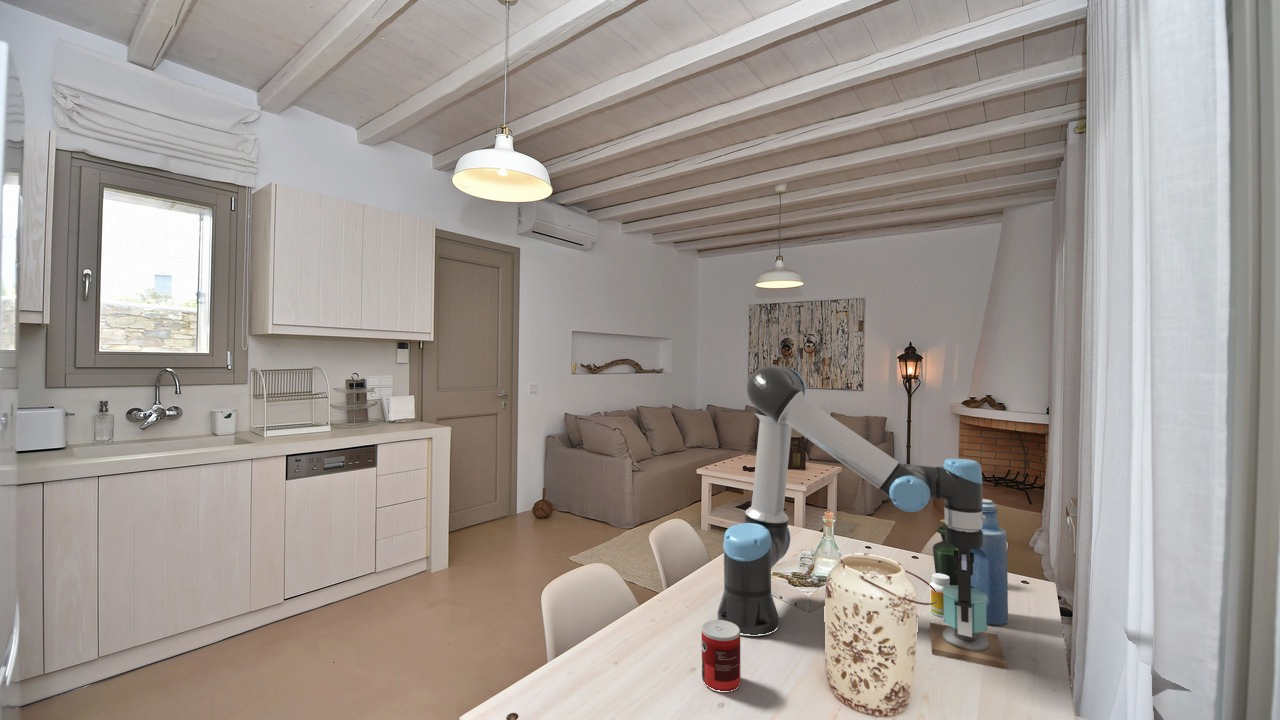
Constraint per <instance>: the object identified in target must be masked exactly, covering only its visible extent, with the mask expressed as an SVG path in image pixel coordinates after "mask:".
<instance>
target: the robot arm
mask: <svg viewBox="0 0 1280 720" xmlns="http://www.w3.org/2000/svg"><path fill="white" fill-rule="evenodd" d="M746 395H747V398H748V400H749V401H750V403H751V404H752V405H753V406H754V407H755V409H754V415H755V416H756V417H757V418H758V419H759V426H758V436H757V447H756V457H755V467H754V468H755V469H754V477H753V489H752V495H751V496H752V498H751V506H749V507H748V508H747V509H746V510H745V514H744V521H743V522H742V523H741V522H740V523H739V524H733V525H731V526H730V527H728V528H727V529H726V531H725V532H724V534H723V535H724V537H723V543H722V546H723V547H722V548H723V581H724V584H723V586H724V587H723V593H722V596H721V599H720V601H719V602H720V603H719V606H718V609H717V620H724V621H728V622H731V623H734V624H735V625H737V626H738V627H739V629H740V633H743V634H750V635H758V634H766V633H769V632H772V631H774V630H775V629H776V628H777V627H778V625H779V626H780V624H779V623H780V619H779V618H780V617H779V614H778V613H779V612H778V611H777V607H776V604H775V600H774V597H773V595H772V568H773V567H774V566H775V565H776V564H777V563H778V562H779V561H780V560H781V559H783V558H784V556H785V555H786V554H787V553H788V551H789V547H790V545H791V533H790V529H789V527H788V526H789V516H788V515H787V514H786V512H785V511H784V509H785V508H784V507H785V499H786V489H787V488H786V487H787V480H788V469H789V468H788V467H789V458H790V448H791V439H792V430H794V431H796V432H797V433H799V434H800V435H801V436H803V437H804V438H806V439H807V440H809V441H810V442H812V443H813V444H814V445H816V447H819V448H820V449H821V450H823V451H824V452H826V453H827V454H828V455H830V456H832V457H833V458H834V459H835V460H837V461H838V462H840V463H841V464H842V465H844V466H846V467H847V468H848V469H850V470H851V471H853V472H854V473H855V474H856V475H858V476H860V477H861V478H862V479H864V480H866V482H868V483H869V484H871V485H872V486H874V487H875V488H877V489H878V490H880V491H881V492H882V493H883V494H885V496H887V497H889V498H890V501H891V502H892V504H893V505H894V506H895V507H896V508H897V509H899V510H901V511H903V512H906V513H916V512H919V511H921V510H923V509H924V508H925V507H926V506H927V505H928V503H929V501H930V499H934V500H944V510H943V511H944V519H945V524H946V525H947V526H946V527H945V541H946V542H947V543H948V544H950V545H952V546H956V547H958V550H954V560H955V571H956V573H957V574H958V601H957V602H954V605H957V606H958V634H960V635H964V636H969V637H972V604H971V588H974V587H973V586H971V576H972V575H973V564H974V552H970V549H978V548H981V547H982V546H983V532H982V530H981V528H982V519H986V517H985V515H982V499H983V474H982V473H983V472H982V466H981V464H980V463H979V461H976V460H973V459H967V458H947V459H945V460H944V462H943V465H942V466H931V465H919V464H918V465H917V464H908V463H900V462H899V461H898V460H896V459H894V458H893V457H891V456H890V455H889V454H888V453H886V452H885V451H884V450H881V449H880V448H878V447H877V446H875V445H874V444H872V443H871V442H870V441H868V440H867V439H865V438H863V437H862V436H860V435H859V434H858V433H857V432H855V431H853V430H852V429H850V428H849V427H847V426H846V425H845V424H843V423H842V422H840V421H838V420H837V419H836V418H834V417H833V416H831V415H829V414H828V413H827V412H825V411H823V410H822V409H821V408H819V407H818V406H817V405H815V404H813V403H812V402H811V401H809V400H808V399H806V398H805V395H806V383H805V381H804V379H803V377H802V376H801V375H800V374H799V372H797V371H796V370H794V369H792V368H790V367H787V366H781V365H780V366H779V365H777V366H764V367H761V368H758V369H757V370H755V371H754V372H753V373H752V374H751V375H750V377H749V379H748V381H747V383H746ZM778 628H779V627H778Z"/></svg>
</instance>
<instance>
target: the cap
mask: <svg viewBox="0 0 1280 720" xmlns="http://www.w3.org/2000/svg"><path fill="white" fill-rule="evenodd" d="M957 601H958V585H949V586H945V587H943V609H944V617H943V622H944V624H946V625H947V626H951V627H953V628H955V629H956V628H957V630H958V606H957V605H954V602H957ZM986 601H987V595H986V594H985V593H983V592H981V591H979V590H977V589H974V588H971V604H972V633H973V632H974V633H978V632H987V631H988V625H987V614H986Z"/></svg>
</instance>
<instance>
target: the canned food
mask: <svg viewBox="0 0 1280 720" xmlns="http://www.w3.org/2000/svg"><path fill="white" fill-rule="evenodd" d="M701 678H702V682H703V681H704V682H705V684H706V685H708V686H709V687H711V688H713V689H715V690H720V691H731V690H734V689H736V688H737V687H738V686H739V687H740V685H739V684H741V635H740V629H739V627H738V626H737V625H735V624H734V623H731V622H728V621H724V620H718V619H713V620H712V619H711V620H708V621H706V622H703V624H702V626H701ZM704 682H703V683H704ZM705 684H704V685H705ZM739 687H738V688H739ZM738 688H737V689H738ZM737 689H736V690H737Z"/></svg>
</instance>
